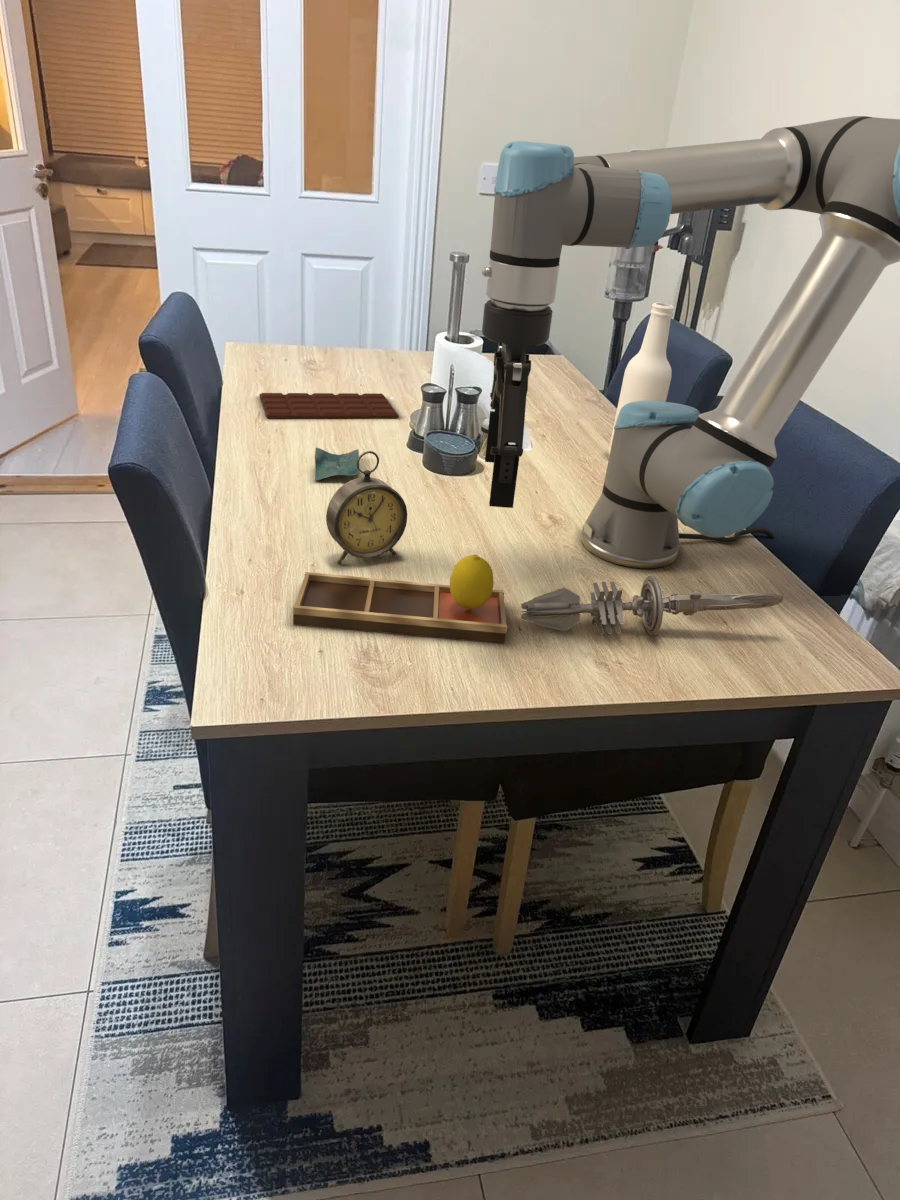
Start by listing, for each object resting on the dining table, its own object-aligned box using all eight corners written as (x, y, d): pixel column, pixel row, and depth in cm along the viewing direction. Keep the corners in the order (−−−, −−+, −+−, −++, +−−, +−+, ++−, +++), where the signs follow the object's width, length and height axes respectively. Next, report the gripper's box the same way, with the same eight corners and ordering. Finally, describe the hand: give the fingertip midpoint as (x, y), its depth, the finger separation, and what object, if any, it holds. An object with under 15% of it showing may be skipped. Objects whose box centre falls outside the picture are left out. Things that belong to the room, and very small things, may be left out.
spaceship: (803, 605, 106) (783, 556, 111) (528, 618, 104) (520, 568, 109) (781, 640, 113) (764, 593, 118) (522, 654, 110) (514, 605, 115)
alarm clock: (334, 570, 118) (338, 461, 110) (321, 553, 122) (323, 447, 114) (405, 560, 123) (414, 454, 115) (390, 543, 127) (397, 440, 119)
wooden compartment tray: (501, 606, 114) (504, 590, 113) (504, 643, 106) (507, 627, 105) (304, 588, 113) (305, 571, 112) (293, 624, 105) (293, 607, 104)
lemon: (485, 624, 107) (493, 569, 103) (443, 616, 107) (449, 561, 103) (492, 603, 111) (500, 549, 107) (451, 595, 112) (457, 542, 108)
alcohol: (603, 461, 167) (635, 304, 152) (612, 448, 174) (644, 296, 159) (647, 471, 164) (684, 312, 149) (654, 457, 172) (691, 305, 156)
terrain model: (360, 483, 145) (360, 473, 144) (314, 483, 144) (313, 472, 143) (358, 456, 156) (358, 446, 155) (315, 455, 155) (315, 446, 154)
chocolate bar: (383, 397, 188) (383, 392, 187) (398, 417, 177) (398, 413, 176) (259, 396, 179) (259, 392, 179) (267, 418, 168) (267, 413, 168)
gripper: (481, 278, 103) (465, 443, 114) (489, 326, 82) (469, 525, 92) (542, 283, 103) (521, 447, 114) (566, 333, 82) (537, 529, 93)
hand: (498, 482), depth 103 cm, fingers open, 13 cm apart
